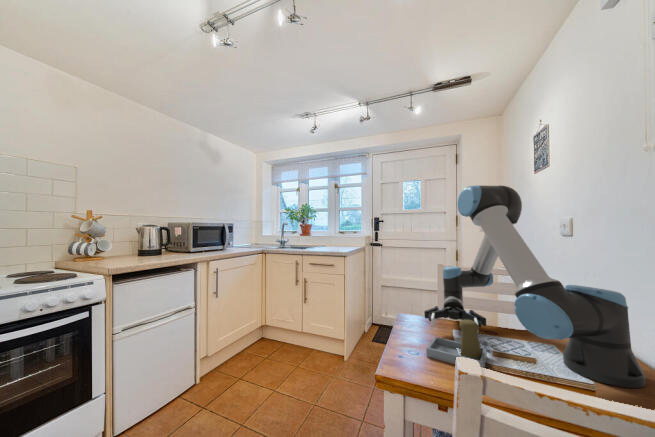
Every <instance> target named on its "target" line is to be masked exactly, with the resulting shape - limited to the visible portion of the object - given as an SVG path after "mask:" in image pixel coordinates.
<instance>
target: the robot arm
mask: <svg viewBox="0 0 655 437" xmlns="http://www.w3.org/2000/svg"><path fill="white" fill-rule="evenodd" d="M456 204H457V210H458V211H457V212H459V214H460V215H461V216H463V217H465V218H470V219H471V222H472V223H473V224H474V225H475V226H477V227H478V226H479V227H480V228H481V229H482V231H483V233H484V236H483V239H482V241H481V243H480V246H479V248H478V250H477V253H476V256H475V258H474V261H473V264H472V266H471V268H470V270H462V268H461V267H459V266H444V267H443V268H442V269H443V270H442V279H443V298H444V300H443V301H444V302H443V307H442V308H440V307H439V306H437V305H435V306H434V307H432V308H429V309H426V310H424V311H423V312H424V318H425V319H428V321H429V322H430V326H431V327H435V321H436V320H437V319H442V318H444V319H448V318H449V319H450V320H453V321H454V320H460V321H461V320H472V321H475V322H476V323H477V325H478V332H477V334H478V333H479V332H480V331H479V328H482V326H484V327H487V318H486V317H484V316H482V314H481V315H480V314H479V313H477V312H475V311H474V310H473V309H470V310H469V311H466V310H465V307H464V298H463V288H464V289H465V288H479V287H480V288H484V287H489V286H491V285H492V284H493V283H494V274H493V273H492V271H493V269H494V266H495V264H496V263H497V259H498V258H499V260H500V261H501V263H502V265H503V266H504V269H505V270H506V272H507V273H508V274H509V277H510V278H511V280H512V281H513V284H514V285H515V286H516V289H515V291H514V296H515V298H516V299H515V300H514V304H513V305H514V307H515V308H514V313H515V315H516V317H517V319H518V321H519V322H520V324H521V325H522V327H524V328H525V329H526V330H527V331H528V332H529V333H531V334H533V335H536V337H539V338H542V339H544V340H545V339H546V340H558V341H559V340H560V341H562V340H565V339H567V340H568V341H567V343H566V344H565V345H566V346H565V348H564V351H563V354H562V356H563V364H564V366H566V367H567V368H568V369H570V370H571V371H573V372H575V373H576V374H578V375H580V376H582V377H585V378H587V379H590V380H594V381H596V382H599V383H602V384H606V385H609V386H615V387H618V388H619V387H620V388H629V389H640V388H644V387H645V386H646V385H647V382H646V375H645V372H644V370H643V368H642V367H641V364H640V363H639V361H638V359H637V358H636V356H635V354H634V352H633V350H632V341H631V332H630V321H629V320H630V319H629V312H628V311H629V306H628V303H627V300H626V296H625V295H624V294H623V293H621V292H618V291H615V290H609V289H605V288H598V287H590V286H584V285H577V284H566V285H565V286H564V285H563V283H562V282H561V281H560V280H558V279H556V278H555V279H554V278H552V277H550V276H549V275H548V273H547V272H546V270H545V269H544V267H543V266H542V264H541V262H540V261H539V260H538V258H536V256H535V255H534V253H533V252H532V250H531V249H530V247H529V246H528V244H527V243H526V241H525V240H524V238H523V237H522V236H521V234H520V233H519V231H518V230H517V229H516V228H515V226H514V225H516V224H517V223H518V221H519V220H520V216H521V214H522V209H523V208H522V207H523V203H522V197H521V196H520V195H519V193H518V192H517V191H516V190H515V189H514V188H512V187H510V186H506V185H478V184H475V185H469V186H467V187H464V188H463V189H462V190H461V192H460V194H459V195H458V198H457V202H456Z"/></svg>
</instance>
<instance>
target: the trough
mask: <svg viewBox="0 0 655 437" xmlns="http://www.w3.org/2000/svg"><path fill="white" fill-rule="evenodd" d="M456 348H459V349H461V341H460V342H459V341H455V340H452V339H451V340H450V339H446V338H443V337H438V336H434V337H433V338H432V340H431V342H429V344H427V347H426V348H425V349H426V357H427V358H431V359H434V360H437V361H442V362H445V363H450V364H453V365H456V364H455V360H456V357H464V356H460V355H459V354H458V351H457V349H456ZM480 349H481V354H482V356H481V359H480V361H479V360H477V361H478V362H479V363H480V365H481V366H482V367H483V368H486V364H485V362H486V363H487V360H486V358H487V359H488V351H487V348H485V347H481V346H480ZM465 358H468V357H465ZM470 359H472V358H470ZM474 360H476V359H474Z"/></svg>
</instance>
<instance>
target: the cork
mask: <svg viewBox="0 0 655 437" xmlns="http://www.w3.org/2000/svg"><path fill="white" fill-rule="evenodd" d="M458 325H459V328H460V331H461V340H460V343H461V353H460V354H461V356H464V357H468V358H472V359H476V360H479V361H480V359H481V356H482V354H481V349H480V347H481V345H480V341H479V336H478V333H477V332H478V328H479V327H478V325H477V323H476V322H475V321H472V320H461V319H460V321H459V324H458Z"/></svg>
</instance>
